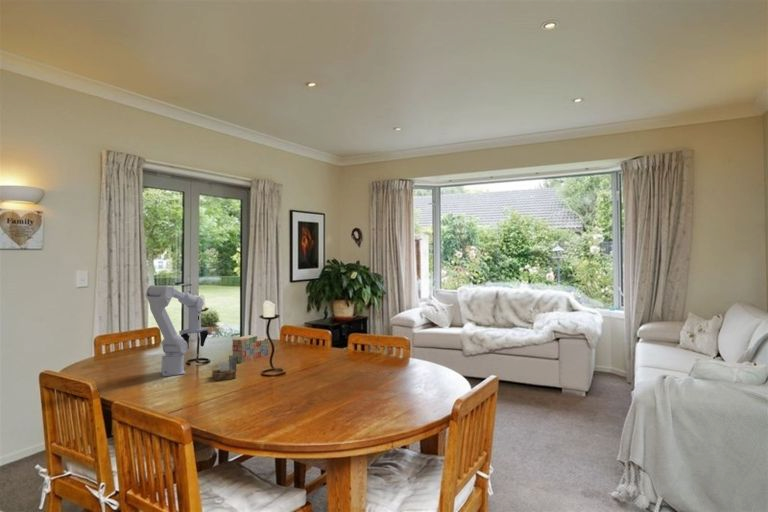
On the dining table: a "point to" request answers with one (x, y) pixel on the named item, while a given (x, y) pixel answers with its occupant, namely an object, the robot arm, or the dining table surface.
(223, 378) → the walnut bore block
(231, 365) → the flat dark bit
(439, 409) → the dining table surface
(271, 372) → the dining table surface
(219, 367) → the block
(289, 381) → the dining table surface
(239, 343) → the stack of blocks
